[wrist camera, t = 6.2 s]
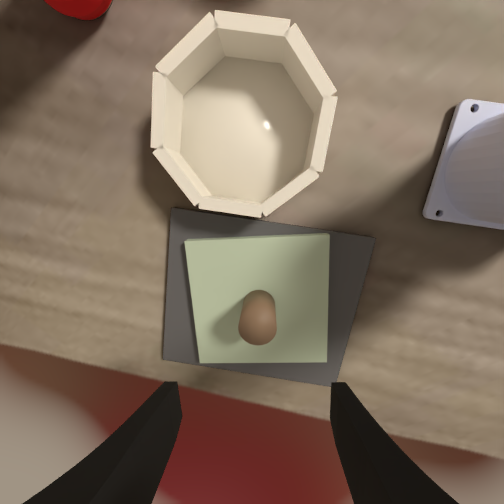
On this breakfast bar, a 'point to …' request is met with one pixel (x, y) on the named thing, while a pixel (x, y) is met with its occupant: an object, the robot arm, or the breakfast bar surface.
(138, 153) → the breakfast bar surface
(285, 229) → the mat
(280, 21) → the bowl
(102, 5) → the beverage can
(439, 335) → the breakfast bar surface
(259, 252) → the lid
